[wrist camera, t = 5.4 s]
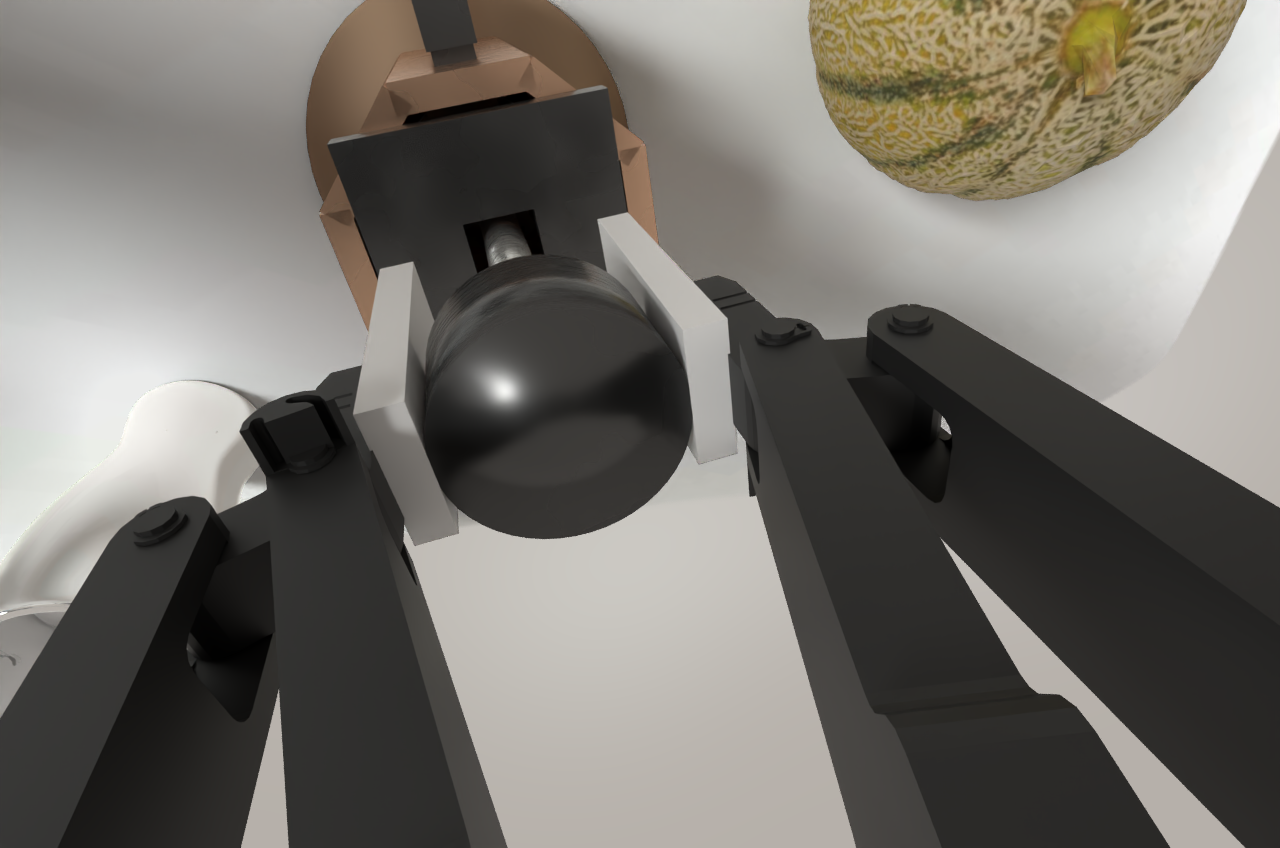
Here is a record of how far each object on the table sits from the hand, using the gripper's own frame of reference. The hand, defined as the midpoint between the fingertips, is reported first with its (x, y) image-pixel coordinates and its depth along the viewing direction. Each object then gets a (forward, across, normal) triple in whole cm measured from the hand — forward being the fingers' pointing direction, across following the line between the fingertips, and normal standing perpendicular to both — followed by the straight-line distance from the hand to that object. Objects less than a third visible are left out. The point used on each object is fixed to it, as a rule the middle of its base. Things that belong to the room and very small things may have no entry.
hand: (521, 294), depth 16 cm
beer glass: (+18, -17, -10) cm, 26 cm away
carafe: (+17, 0, +1) cm, 17 cm away
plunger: (+14, 0, 0) cm, 14 cm away
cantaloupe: (+18, +21, +3) cm, 28 cm away
